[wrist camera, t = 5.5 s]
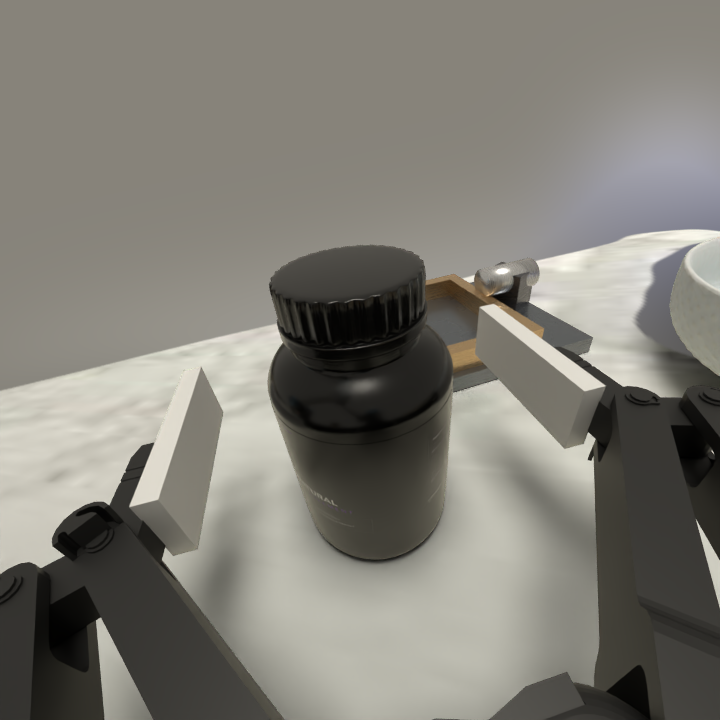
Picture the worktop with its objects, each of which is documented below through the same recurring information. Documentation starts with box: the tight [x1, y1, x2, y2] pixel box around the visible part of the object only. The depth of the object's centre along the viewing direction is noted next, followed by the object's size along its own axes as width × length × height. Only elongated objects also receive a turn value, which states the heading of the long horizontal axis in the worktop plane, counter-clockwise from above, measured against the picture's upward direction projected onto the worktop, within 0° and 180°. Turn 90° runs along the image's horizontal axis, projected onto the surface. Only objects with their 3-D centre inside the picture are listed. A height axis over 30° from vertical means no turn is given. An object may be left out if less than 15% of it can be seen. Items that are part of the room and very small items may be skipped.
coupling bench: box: [425, 258, 593, 392], centre depth 27 cm, size 21×13×5 cm, turn 106°
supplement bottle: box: [268, 245, 453, 560], centre depth 14 cm, size 7×7×12 cm
